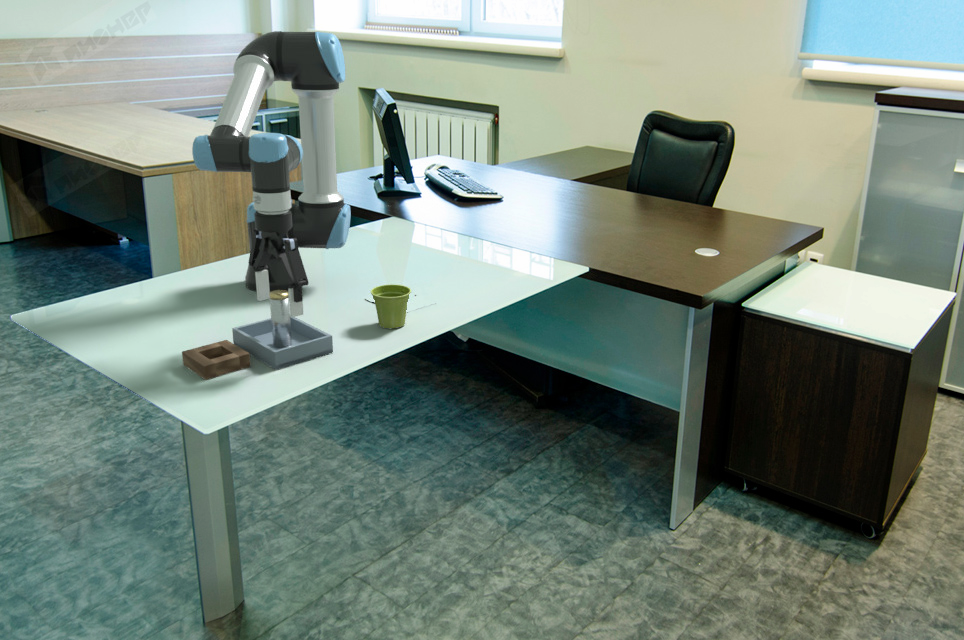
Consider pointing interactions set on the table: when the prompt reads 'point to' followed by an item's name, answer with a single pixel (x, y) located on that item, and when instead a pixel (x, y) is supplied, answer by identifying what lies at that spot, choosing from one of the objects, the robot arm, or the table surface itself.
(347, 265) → the table surface
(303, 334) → the tray
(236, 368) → the socket block
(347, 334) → the table surface
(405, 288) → the plant pot
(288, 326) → the pin
